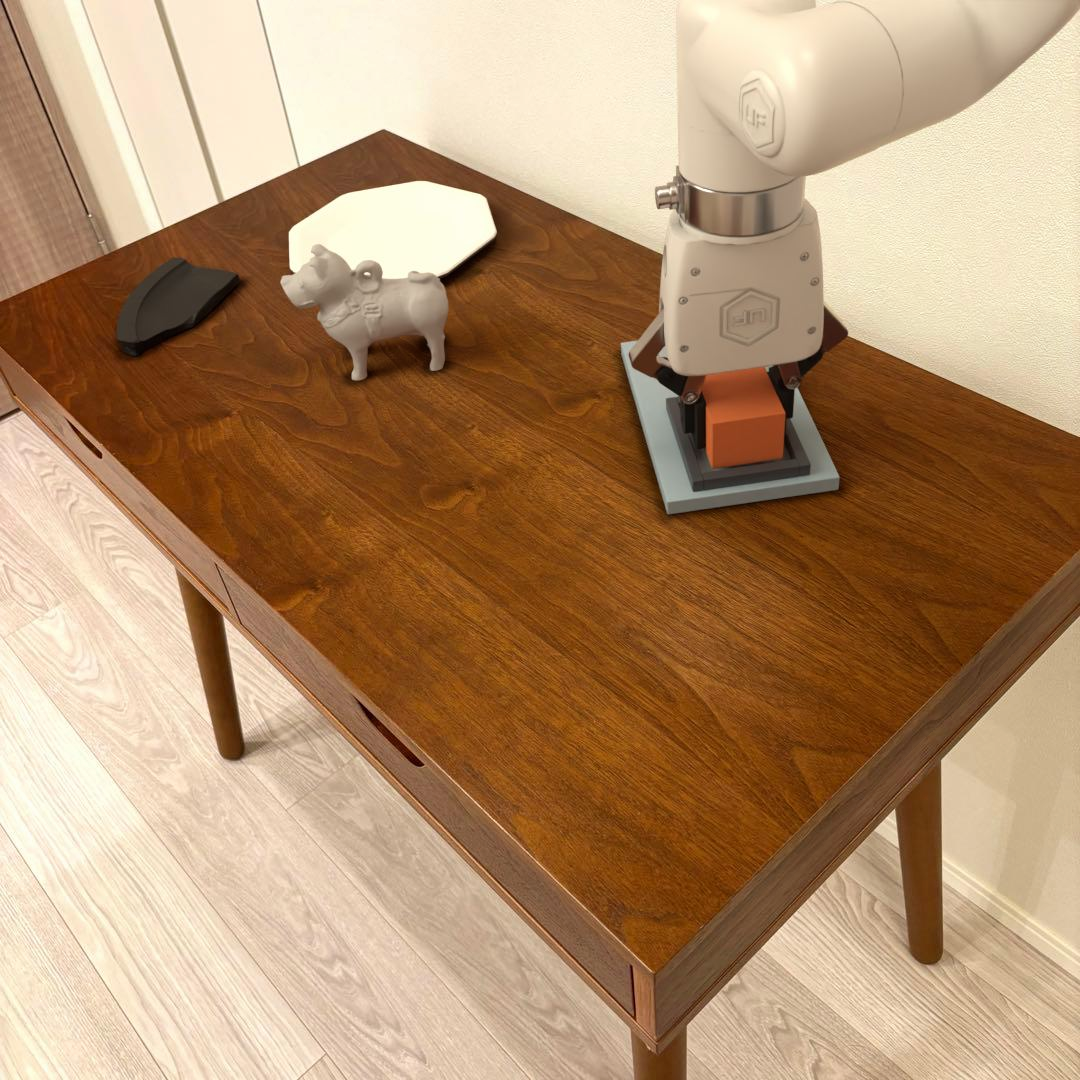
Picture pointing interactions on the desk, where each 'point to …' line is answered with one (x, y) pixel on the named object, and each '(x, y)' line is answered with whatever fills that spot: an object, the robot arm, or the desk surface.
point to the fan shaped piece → (170, 303)
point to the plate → (398, 229)
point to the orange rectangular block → (742, 418)
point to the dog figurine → (370, 304)
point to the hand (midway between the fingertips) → (736, 429)
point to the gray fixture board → (702, 487)
